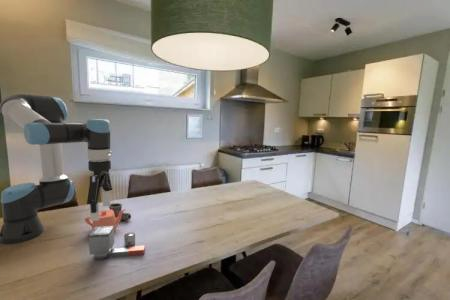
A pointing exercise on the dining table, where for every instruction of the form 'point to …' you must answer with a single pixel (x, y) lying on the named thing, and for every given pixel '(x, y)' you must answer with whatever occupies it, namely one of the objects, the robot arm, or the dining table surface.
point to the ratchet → (121, 252)
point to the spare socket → (129, 239)
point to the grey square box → (101, 240)
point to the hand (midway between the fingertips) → (101, 212)
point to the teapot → (105, 219)
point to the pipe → (117, 208)
